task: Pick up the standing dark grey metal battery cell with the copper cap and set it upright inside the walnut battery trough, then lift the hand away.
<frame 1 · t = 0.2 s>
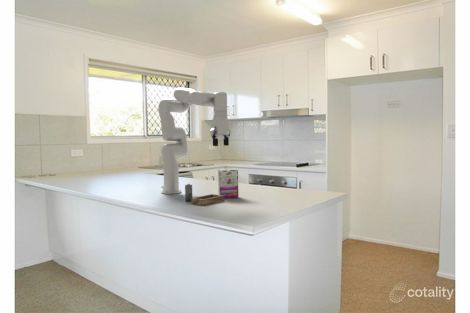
hand: (220, 145, 190), 31 cm above the table, tool pointing down, fingers open, 9 cm apart
battery trough: (208, 202, 187), on the table
candy bar box: (228, 197, 201), on the table
battery cell: (188, 201, 191), on the table
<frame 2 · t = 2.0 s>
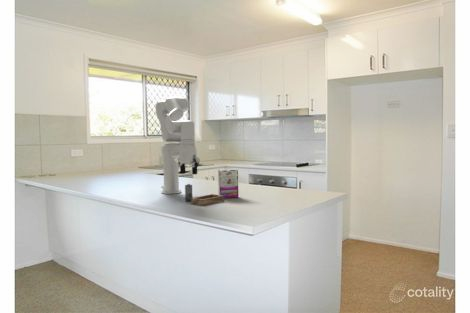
hand: (188, 173, 190), 15 cm above the table, tool pointing down, fingers open, 9 cm apart
nothing on the table moved.
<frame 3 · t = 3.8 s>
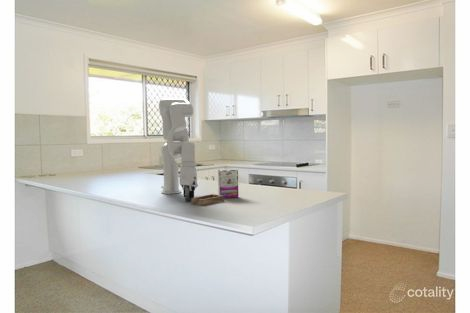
hand: (188, 197, 191), 2 cm above the table, tool pointing down, fingers closed on battery cell, 4 cm apart
battery cell: (188, 201, 191), on the table, touching gripper
everything else where it was.
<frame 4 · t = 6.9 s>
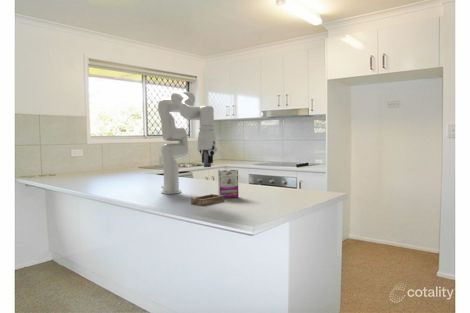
hand: (207, 162, 186), 22 cm above the table, tool pointing down, fingers closed on battery cell, 4 cm apart
battery cell: (207, 166, 186), point 19 cm above the table, touching gripper
everything else where it was.
when the fingers open (4 cm above the table, at t = 10.3 s): battery cell drops 1 cm, resting on battery trough.
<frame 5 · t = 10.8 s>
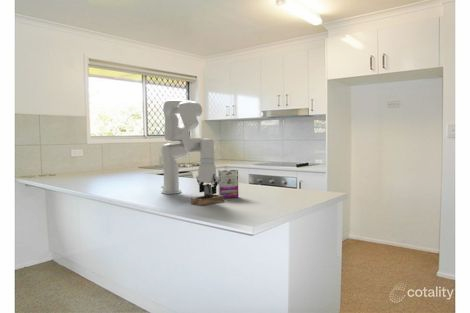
hand: (207, 192, 187), 5 cm above the table, tool pointing down, fingers open, 9 cm apart
battery cell: (208, 201, 187), point 1 cm above the table, touching battery trough
everything else where it was.
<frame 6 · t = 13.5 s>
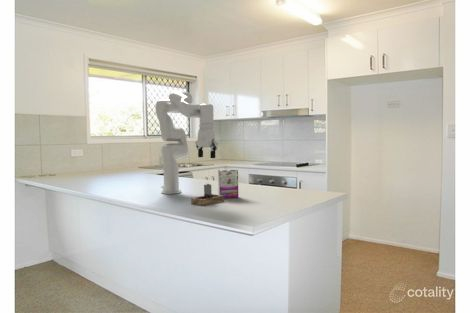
hand: (206, 157, 190), 24 cm above the table, tool pointing down, fingers open, 9 cm apart
nothing on the table moved.
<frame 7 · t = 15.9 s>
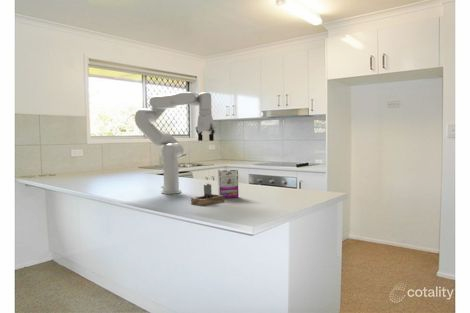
hand: (205, 140, 212), 33 cm above the table, tool pointing down, fingers open, 9 cm apart
nothing on the table moved.
at the end: battery cell inside the target area on the battery trough (0.0 cm from its centre), point 0.6 cm above the battery trough's base; battery cell tilted 1°; the gripper is holding nothing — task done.
